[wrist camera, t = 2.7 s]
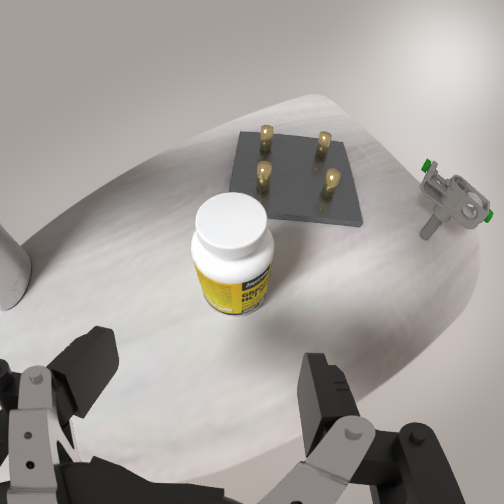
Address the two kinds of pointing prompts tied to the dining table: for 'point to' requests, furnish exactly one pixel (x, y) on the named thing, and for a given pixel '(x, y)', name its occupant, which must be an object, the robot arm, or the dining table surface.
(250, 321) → the dining table surface
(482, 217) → the mechanical component
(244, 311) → the pill bottle
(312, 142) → the plate
